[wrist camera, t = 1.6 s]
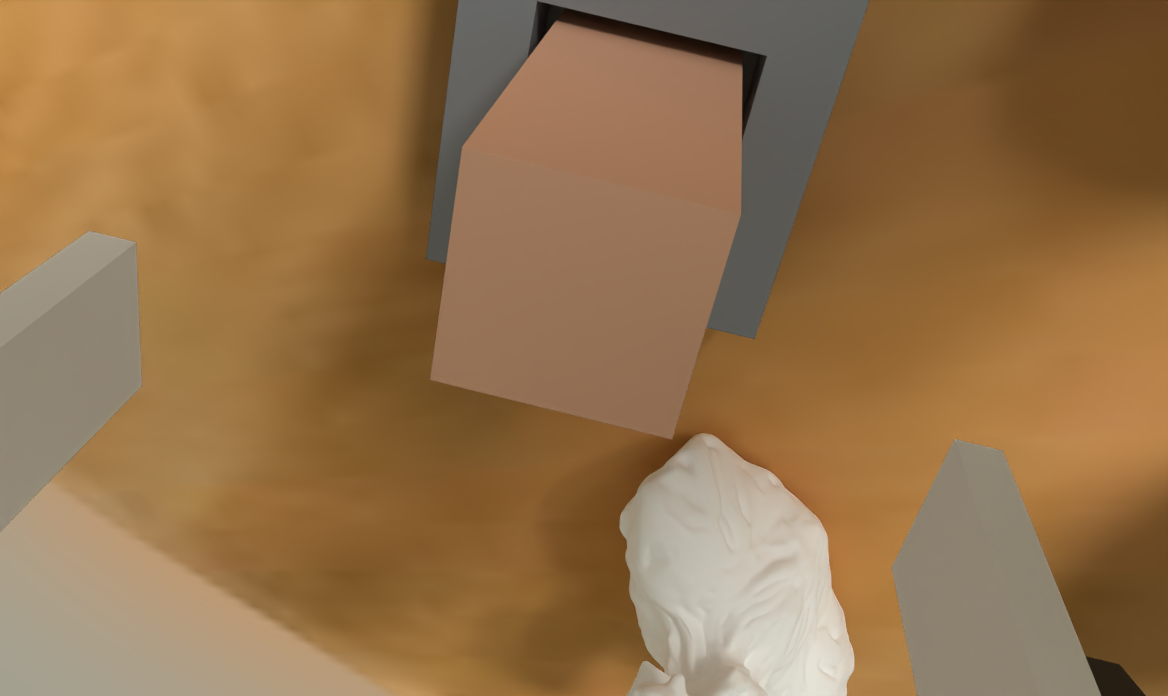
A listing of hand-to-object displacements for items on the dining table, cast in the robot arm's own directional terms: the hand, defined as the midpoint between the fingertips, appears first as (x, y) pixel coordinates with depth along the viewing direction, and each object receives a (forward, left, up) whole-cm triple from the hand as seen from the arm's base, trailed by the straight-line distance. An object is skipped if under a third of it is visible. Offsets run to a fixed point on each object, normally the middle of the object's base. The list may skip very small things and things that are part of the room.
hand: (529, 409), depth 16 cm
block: (0, 0, -15) cm, 15 cm away
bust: (-7, +15, -16) cm, 23 cm away
